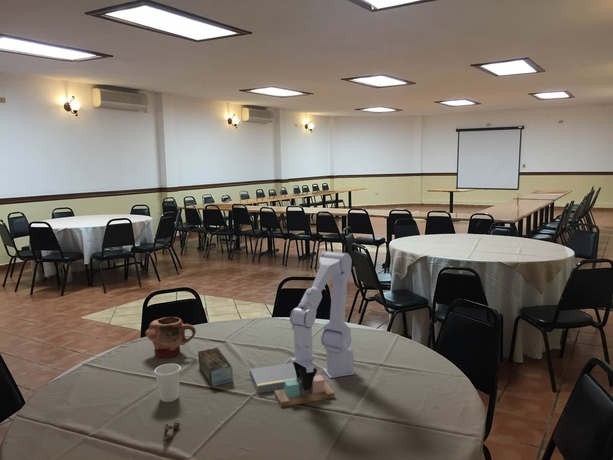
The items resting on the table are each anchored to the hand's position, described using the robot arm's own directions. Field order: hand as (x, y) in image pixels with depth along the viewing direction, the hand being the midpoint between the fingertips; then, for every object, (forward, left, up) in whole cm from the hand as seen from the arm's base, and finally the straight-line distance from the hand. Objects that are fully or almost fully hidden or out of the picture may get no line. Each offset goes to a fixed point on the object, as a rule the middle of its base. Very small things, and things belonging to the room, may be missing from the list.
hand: (304, 384), depth 159 cm
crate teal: (+4, 0, -3) cm, 5 cm away
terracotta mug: (+40, -52, -4) cm, 66 cm away
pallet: (0, 0, -5) cm, 5 cm away
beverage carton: (+25, -27, -5) cm, 37 cm away
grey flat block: (+4, -14, -4) cm, 15 cm away
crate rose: (-4, 0, -3) cm, 5 cm away
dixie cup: (+42, -14, -4) cm, 44 cm away
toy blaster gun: (+42, +9, -5) cm, 43 cm away
